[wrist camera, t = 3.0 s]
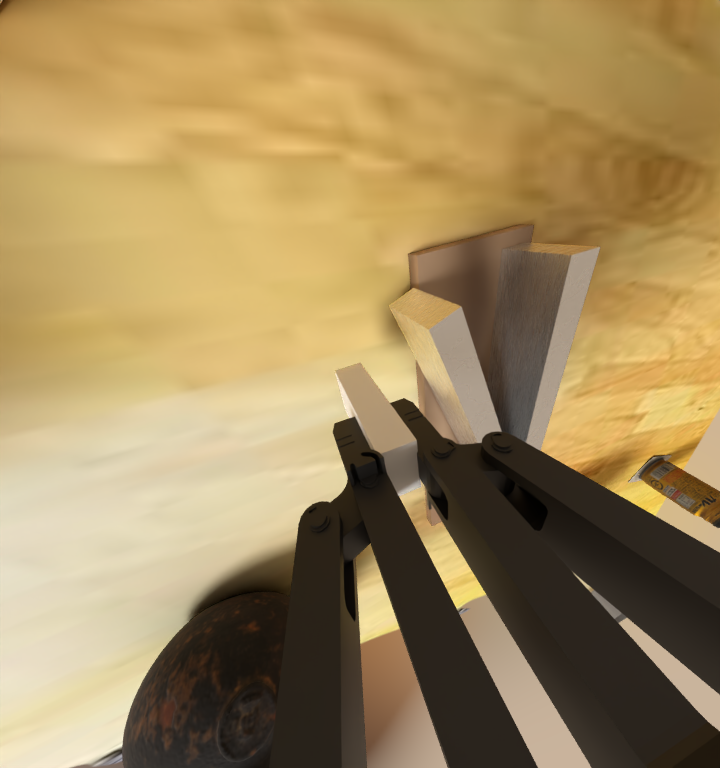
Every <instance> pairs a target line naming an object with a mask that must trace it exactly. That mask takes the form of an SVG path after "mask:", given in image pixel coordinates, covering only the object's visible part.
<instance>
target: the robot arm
mask: <svg viewBox="0 0 720 768" xmlns="http://www.w3.org/2000/svg"><path fill="white" fill-rule="evenodd" d="M335 374H336V377H337V381H338V385H339V388H340V392H341V395H342V399H343V403H344V406H345V410H346V412H347V414H348V416H349V419H346V420H343V421H340V422H338V423H335V424H334V429H333V434H334V437H335V440H336V443H337V446H338V449H339V452H340V455H341V458H342V461H343V464H344V467H345V470H346V473H347V476H348V480H347V485H346V487H345V489H344V490H343V492H342V493H341V494H340V495H339V496H338V497H337V498H335V499H334V500H333V501H332V502H330V503H329V502H318V503H315V504H312V505H311V506H310V507H309V508H307V509H306V510H305V512H304V513H303V515H302V516H301V519H300V522H299V527H298V535H297V543H296V552H295V560H294V568H293V576H292V584H291V593H290V601H289V609H288V617H287V625H286V633H285V642H284V650H283V658H282V666H281V674H280V683H279V691H278V699H277V707H276V715H275V724H274V732H273V740H272V748H271V756H270V764H269V768H367V761H366V742H365V724H364V705H363V687H362V668H361V650H360V631H359V613H358V594H357V576H356V556H357V555H358V554H359V553H360V552H362V551H363V550H364V549H365V548H366V547H367V546H368V545H369V544H370V543H371V546H372V549H373V552H374V555H375V558H376V561H377V564H378V566H379V569H380V572H381V575H382V578H383V581H384V584H385V587H386V590H387V593H388V595H389V598H390V601H391V604H392V607H393V610H394V613H395V616H396V619H397V622H398V624H399V627H400V630H401V633H402V636H403V639H404V642H405V645H406V647H407V651H408V653H409V656H410V659H411V662H412V665H413V668H414V671H415V674H416V677H417V680H418V682H419V685H420V688H421V691H422V694H423V697H424V700H425V703H426V706H427V709H428V711H429V714H430V717H431V720H432V723H433V726H434V729H435V732H436V735H437V737H438V740H439V743H440V746H441V749H442V752H443V755H444V758H445V760H446V764H447V767H448V768H538V767H537V765H536V763H535V761H534V759H533V757H532V755H531V753H530V752H529V749H528V748H527V746H526V744H525V742H524V740H523V738H522V736H521V734H520V732H519V730H518V728H517V726H516V724H515V722H514V720H513V718H512V716H511V714H510V712H509V710H508V709H507V707H506V705H505V703H504V701H503V699H502V697H501V695H500V693H499V691H498V689H497V687H496V686H495V683H494V681H493V679H492V677H491V675H490V673H489V671H488V670H487V667H486V666H485V664H484V662H483V660H482V658H481V656H480V654H479V652H478V650H477V648H476V646H475V644H474V642H473V640H472V638H471V636H470V634H469V632H468V630H467V628H466V626H465V625H464V623H463V621H462V619H461V617H460V615H459V613H458V611H457V609H456V607H455V605H454V603H453V601H452V599H451V597H450V595H449V593H448V591H447V589H446V587H445V585H444V583H443V582H442V580H441V578H440V576H439V574H438V572H437V570H436V568H435V566H434V564H433V562H432V560H431V558H430V556H429V554H428V552H427V550H426V548H425V546H424V544H423V542H422V541H421V539H420V537H419V535H418V533H417V531H416V529H415V527H414V525H413V523H412V521H411V519H410V517H409V515H408V513H407V511H406V509H405V507H404V505H403V503H402V501H401V500H400V498H399V496H400V495H403V494H405V493H408V492H410V491H412V490H415V489H417V488H420V487H421V482H420V479H421V481H422V482H423V484H424V486H425V487H426V494H427V505H428V508H429V510H431V509H432V506H433V507H434V509H435V511H436V512H437V514H438V516H439V517H440V519H441V521H442V522H443V524H444V526H445V527H446V529H447V530H448V532H449V534H450V535H451V537H452V539H453V540H454V542H455V544H456V545H457V547H458V548H459V550H460V552H461V553H462V555H463V557H464V558H465V560H466V562H467V563H468V565H469V567H470V568H471V570H472V571H473V573H474V575H475V576H476V578H477V580H478V581H479V583H480V585H481V586H482V588H483V590H484V591H485V593H486V594H487V596H488V598H489V599H490V601H491V603H492V604H493V606H494V608H495V609H496V611H497V612H498V614H499V616H500V617H501V619H502V621H503V622H504V624H505V626H506V627H507V629H508V630H509V632H510V634H511V635H512V637H513V639H514V640H515V642H516V644H517V645H518V647H519V648H520V650H521V652H522V654H523V655H524V657H525V659H526V660H527V662H528V663H529V665H530V667H531V668H532V670H533V672H534V673H535V675H536V676H537V678H538V680H539V682H540V683H541V685H542V686H543V688H544V690H545V691H546V693H547V695H548V696H549V698H550V699H551V701H552V703H553V705H554V706H555V708H556V709H557V711H558V713H559V714H560V716H561V718H562V719H563V721H564V723H565V724H566V726H567V727H568V729H569V731H570V732H571V734H572V736H573V737H574V739H575V741H576V742H577V744H578V746H579V747H580V749H581V751H582V752H583V754H584V755H585V757H586V759H587V760H588V762H589V764H590V766H591V767H592V768H720V731H718V730H717V729H716V728H715V727H714V726H712V725H711V724H710V723H709V722H708V721H707V720H706V719H705V718H704V717H703V716H702V715H701V714H700V713H699V712H698V711H697V710H696V709H695V708H694V707H693V706H692V705H691V704H690V702H689V701H688V700H687V699H686V698H685V697H684V696H683V695H682V694H681V692H680V691H679V690H678V689H677V688H676V687H675V686H674V685H673V684H672V682H671V681H670V680H669V679H668V678H667V677H666V676H665V675H664V673H662V671H661V670H660V669H659V668H658V667H657V666H656V665H655V663H654V662H653V661H652V660H651V659H650V658H649V657H648V656H647V655H646V653H645V652H644V651H643V650H642V649H641V648H640V647H639V646H638V645H637V643H636V642H635V641H634V640H633V639H632V638H631V637H630V636H629V635H628V634H627V632H626V631H625V630H624V629H623V628H622V627H621V626H620V625H619V623H618V622H617V621H616V620H615V619H614V618H613V617H612V616H611V615H610V613H609V612H608V611H607V610H606V609H605V608H604V607H603V606H602V605H601V603H600V602H599V601H598V600H597V599H596V598H595V597H594V596H593V595H592V593H591V592H590V591H589V590H588V589H587V588H586V587H585V586H584V584H583V583H582V582H581V581H580V580H579V579H578V578H577V577H576V576H575V575H577V576H578V577H579V578H580V579H581V580H583V581H584V582H585V583H586V584H587V585H589V586H590V587H591V588H592V589H593V590H595V591H596V592H597V593H598V594H599V595H601V596H602V597H603V598H604V599H605V600H607V601H608V602H609V603H610V604H611V605H613V606H614V607H615V608H616V609H617V610H619V611H620V612H621V613H622V614H624V615H625V616H626V617H627V618H629V619H630V620H631V621H632V622H634V624H636V625H637V626H638V627H639V628H640V629H642V630H643V631H644V632H645V633H647V634H648V635H649V636H650V637H651V638H652V639H654V640H655V641H656V642H657V643H658V644H660V645H661V646H662V647H663V648H664V649H666V650H667V651H668V652H669V653H670V654H672V655H673V656H674V657H675V658H677V659H678V660H679V661H680V662H681V663H682V664H684V665H685V666H686V667H687V668H688V669H690V670H691V671H692V672H693V673H694V674H696V675H697V676H698V677H699V678H700V679H702V680H703V681H704V682H705V683H707V684H708V685H709V686H710V687H711V688H712V689H714V690H715V691H716V692H717V693H719V694H720V553H719V552H717V551H716V550H714V549H712V548H710V547H709V546H707V545H705V544H703V543H702V542H700V541H698V540H696V539H695V538H693V537H691V536H689V535H687V534H686V533H684V532H682V531H681V530H679V529H677V528H675V527H674V526H672V525H670V524H668V523H666V522H665V521H663V520H661V519H659V518H658V517H656V516H654V515H652V514H651V513H649V512H647V511H645V510H644V509H642V508H640V507H638V506H637V505H635V504H633V503H631V502H630V501H628V500H626V499H624V498H623V497H621V496H619V495H617V494H615V493H614V492H612V491H610V490H608V489H607V488H605V487H603V486H601V485H600V484H598V483H596V482H594V481H593V480H591V479H589V478H587V477H586V476H584V475H582V474H580V473H579V472H577V471H575V470H573V469H571V468H570V467H568V466H566V465H564V464H563V463H561V462H559V461H557V460H556V459H554V458H552V457H550V456H549V455H547V454H545V453H543V452H542V451H540V450H538V449H536V448H535V447H533V446H531V445H529V444H528V443H526V442H524V441H522V440H520V439H519V438H517V437H515V436H513V435H511V434H509V433H506V432H500V431H497V432H490V433H488V434H486V435H485V436H484V437H483V438H482V443H474V444H456V443H455V442H454V441H453V440H450V439H447V438H443V437H442V436H441V435H440V433H439V432H438V431H437V430H436V429H435V428H434V427H433V425H432V424H431V423H430V422H429V421H428V420H427V418H426V417H425V416H423V414H422V413H421V411H419V409H418V408H417V407H416V406H415V405H414V403H413V402H410V401H408V400H406V399H404V398H403V399H401V400H398V401H395V402H392V403H389V401H388V400H387V399H386V397H385V396H384V394H383V393H382V392H381V390H380V389H379V388H378V386H377V385H376V383H375V382H374V381H373V379H372V378H371V377H370V375H369V374H368V372H367V371H366V370H365V368H364V367H363V366H362V364H361V363H358V364H354V365H351V366H348V367H345V368H342V369H339V370H336V371H335ZM431 504H432V506H431Z"/></svg>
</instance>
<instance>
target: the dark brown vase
mask: <svg viewBox="0 0 720 768" xmlns="http://www.w3.org/2000/svg"><path fill="white" fill-rule="evenodd" d="M289 601H290V597H289V596H287V595H284V594H281V593H277V592H255V593H247V594H242V595H239V596H235V597H232V598H229V599H226V600H223V601H221V602H219V603H216V604H214V605H212V606H210V607H209V608H207V609H205V610H204V611H202V612H201V613H199V614H198V615H197V616H195V617H194V618H193V619H192V620H190V621H189V622H188V623H187V624H186V625H185V626H184V627H183V628H182V629H181V630H180V631H179V632H178V633H177V634H176V635H175V636H174V637H173V638H172V640H171V641H170V642H169V643H168V644H167V646H166V647H165V648H164V649H163V651H162V652H161V653H160V655H159V656H158V658H157V659H156V660H155V662H154V663H153V665H152V666H151V668H150V670H149V671H148V673H147V675H146V676H145V678H144V680H143V682H142V684H141V686H140V688H139V690H138V692H137V694H136V696H135V698H134V701H133V703H132V706H131V709H130V712H129V715H128V719H127V722H126V726H125V730H124V737H123V746H122V757H123V765H124V768H269V764H270V756H271V748H272V740H273V732H274V724H275V715H276V707H277V699H278V691H279V683H280V674H281V666H282V658H283V650H284V642H285V633H286V625H287V617H288V609H289Z"/></svg>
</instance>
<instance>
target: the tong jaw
mask: <svg viewBox="0 0 720 768" xmlns="http://www.w3.org/2000/svg"><path fill="white" fill-rule="evenodd" d="M389 308H390V310H391V312H392V313H393V315H394V317H395V319H396V321H397V323H398V325H399V327H400V329H401V331H402V333H403V335H404V337H405V339H406V341H407V343H408V345H409V347H410V349H411V351H412V353H413V354H414V356H415V358H416V360H417V362H418V364H419V366H420V368H421V370H422V372H423V374H424V376H425V378H426V380H427V382H428V384H429V386H430V388H431V390H432V392H433V393H434V395H435V397H436V399H437V401H438V403H439V405H440V407H441V409H442V411H443V413H444V415H445V417H446V419H447V421H448V423H449V425H450V427H451V429H452V431H453V433H454V434H455V436H456V438H457V440H458V442H459V444H474V443H482V438H483V437H484V436H485V435H486V434H488V433H490V432H497V431H500V432H502V431H501V428H500V425H499V422H498V419H497V416H496V413H495V410H494V406H493V403H492V400H491V397H490V394H489V391H488V388H487V385H486V382H485V378H484V375H483V372H482V369H481V366H480V363H479V360H478V357H477V353H476V350H475V347H474V344H473V341H472V338H471V335H470V332H469V328H468V325H467V322H466V319H465V316H464V313H463V310H462V307H461V306H459V305H457V304H454V303H451V302H449V301H446V300H444V299H441V298H439V297H436V296H433V295H431V294H428V293H426V292H423V291H420V290H418V289H415V288H412V289H411V290H410V291H408V292H407V293H405V294H404V295H403V296H401V297H400V298H399V299H397V300H396V301H394V302H393V303H392V304H390V305H389Z"/></svg>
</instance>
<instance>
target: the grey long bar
mask: <svg viewBox="0 0 720 768" xmlns="http://www.w3.org/2000/svg"><path fill="white" fill-rule="evenodd" d="M599 250H600V247H598V246H580V245H562V244H544V243H526V242H525V243H522V244H518V245H515V246H511V247H507V248H504V249H502V252H501V261H500V271H499V280H498V289H497V299H496V308H495V317H494V326H493V336H492V345H491V354H490V363H489V373H488V382H487V388H488V391H489V394H490V397H491V400H492V403H493V406H494V410H495V413H496V416H497V419H498V422H499V425H500V428H501V431H502V432H506V433H509V434H511V435H513V436H515V437H517V438H519V439H520V440H522V441H524V442H526V443H528V444H529V445H531V446H533V447H535V448H536V449H538V450H541V447H542V444H543V440H544V437H545V433H546V430H547V427H548V423H549V420H550V416H551V413H552V410H553V406H554V403H555V399H556V396H557V393H558V389H559V386H560V382H561V379H562V376H563V372H564V369H565V366H566V362H567V359H568V355H569V352H570V349H571V345H572V342H573V338H574V335H575V332H576V328H577V325H578V321H579V318H580V315H581V311H582V308H583V304H584V301H585V298H586V294H587V291H588V287H589V284H590V281H591V277H592V274H593V270H594V267H595V264H596V260H597V257H598V253H599Z"/></svg>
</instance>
